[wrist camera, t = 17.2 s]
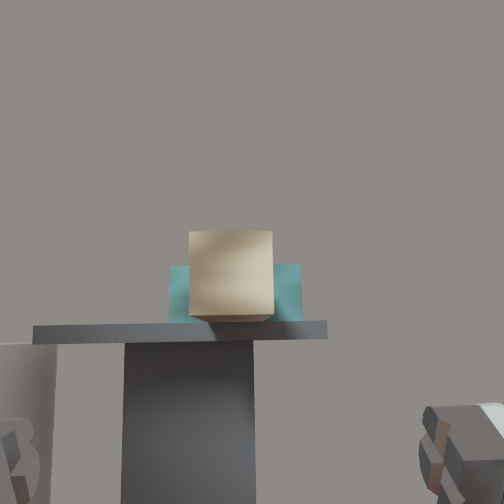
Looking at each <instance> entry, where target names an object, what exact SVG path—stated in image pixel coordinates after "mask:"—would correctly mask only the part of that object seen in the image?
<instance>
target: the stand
mask: <svg viewBox="0 0 504 504" xmlns="http://www.w3.org/2000/svg"><path fill="white" fill-rule="evenodd" d="M327 335H328V334H327V320H323V321H268V322H213V323H160V324H104V325H54V326H51V325H48V326H33V341H32V344H81V343H82V344H83V343H84V344H85V343H125V356H124V394H123V433H122V471H121V504H256V468H255V466H256V464H255V413H254V411H255V410H254V362H253V361H254V360H253V359H254V356H253V340H296V339H327V338H328V336H327Z"/></svg>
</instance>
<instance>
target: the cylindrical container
mask: <svg viewBox="0 0 504 504" xmlns="http://www.w3.org/2000/svg"><path fill="white" fill-rule="evenodd" d="M57 347H58V344H32V343H7V344H6V343H4V344H0V418H27V419H29V420H31V423H32V427H33V431H34V435H33V437H32V439H31V441H30V442H29V444H30V445H31V446H32V447H33V448H34V449H35V450H37V451H38V455H39V460H40V475H39V479H38V484H37V488H36V491H35V493H34V495H33V497H32V499H31V501H30V502H29V503H28V504H50V489H51V469H52V448H53V428H54V407H55V387H56V367H57Z"/></svg>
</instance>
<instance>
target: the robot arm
mask: <svg viewBox="0 0 504 504" xmlns="http://www.w3.org/2000/svg"><path fill="white" fill-rule="evenodd" d="M422 423H423V425H424V427H425V429H426V431H427V433H426V434H425V435H424V437H423V438H422V439H421V440H420V445H419V460H420V468H421V472H422V475H423V479H424V481H425V483H426V485H427V488H428V489H429V490H431V491H432V492H433V493H434V494H436V495H437V496H438V501H437V504H504V405H502V404H500V403H484V404H474V405H454V406H427V407H426V409H425V411H424V414H423V421H422ZM33 435H34V431H33V427H32V423H31V420H29V419H27V418H0V504H28V503H29V502H30V501H31V499H32V497H33V495H34V493H35V491H36V488H37V484H38V479H39V475H40V460H39V455H38V451H37V450H35V449H34V448H33V447H32V446H31V445H30V444H29V442H30V441H31V439H32V437H33Z"/></svg>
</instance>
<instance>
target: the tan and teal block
mask: <svg viewBox="0 0 504 504" xmlns="http://www.w3.org/2000/svg"><path fill="white" fill-rule="evenodd" d="M268 321H303V318H302V290H301V265H300V264H285V265H284V264H283V265H282V264H281V265H280V264H279V265H273V245H272V231H225V232H224V231H223V232H189V266H169V323H213V322H268Z"/></svg>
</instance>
